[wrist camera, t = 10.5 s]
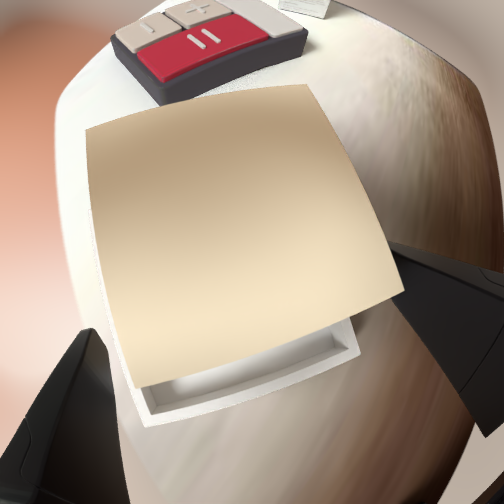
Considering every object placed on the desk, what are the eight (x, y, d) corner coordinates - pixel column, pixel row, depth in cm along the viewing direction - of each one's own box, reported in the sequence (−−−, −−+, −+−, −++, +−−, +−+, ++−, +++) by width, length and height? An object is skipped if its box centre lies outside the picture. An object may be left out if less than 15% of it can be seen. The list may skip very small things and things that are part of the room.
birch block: (273, 316, 16) (404, 290, 5) (189, 344, 15) (134, 389, 4) (245, 236, 17) (306, 84, 6) (164, 260, 16) (85, 129, 5)
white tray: (342, 351, 17) (361, 354, 15) (153, 414, 15) (144, 427, 12) (279, 176, 19) (288, 157, 17) (101, 224, 17) (88, 209, 15)
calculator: (106, 30, 18) (239, -16, 21) (116, 61, 22) (236, 12, 25) (158, 83, 17) (313, 25, 20) (166, 120, 21) (302, 57, 24)
